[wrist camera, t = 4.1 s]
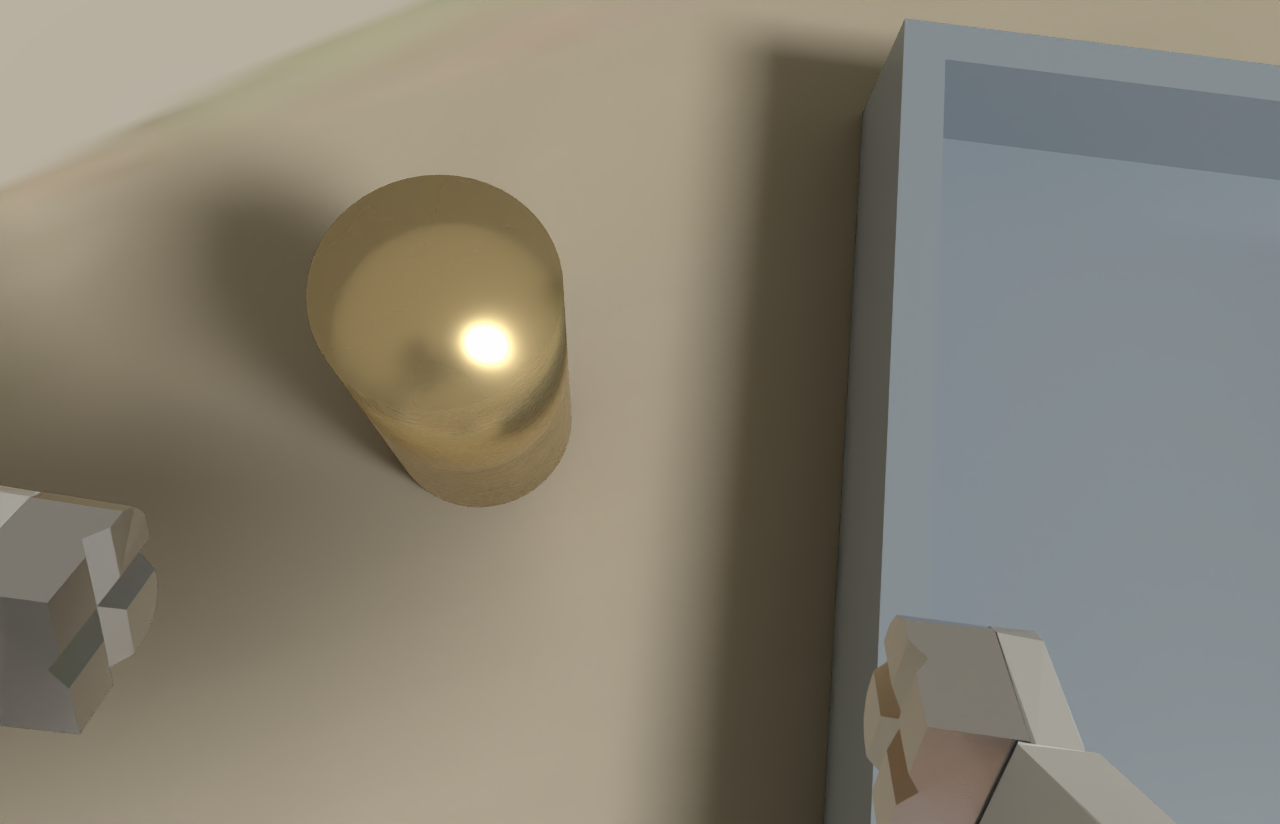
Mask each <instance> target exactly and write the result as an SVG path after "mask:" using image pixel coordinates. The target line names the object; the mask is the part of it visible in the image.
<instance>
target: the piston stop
mask: <svg viewBox="0 0 1280 824" xmlns="http://www.w3.org/2000/svg"><path fill="white" fill-rule="evenodd" d="M306 308H307V315H308V321H309V324H310V328H311V331H312V335H313V337H314V339H315V341H316V343H317V345H318V348H319V349H320V351H321V353H322V354H323V356H324V357H325V359H326V360H327V362H328V363H329V365H330V366H331V367H332V369H333V370H334V371H335V373H336V374H337V376H338V377H339V378H340V380H341V381H342V382H343V384H344V385H345V387H346V388H347V389H348V391H349V392H350V393H351V395H352V396H353V398H354V399H355V400H356V402H357V403H358V404H359V406H360V407H361V409H362V410H363V411H364V413H365V414H366V415H367V417H368V418H369V420H370V421H371V422H372V424H373V425H374V426H375V428H376V429H377V431H378V432H379V433H380V435H381V436H382V437H383V439H384V440H385V442H386V443H387V444H388V446H389V447H390V448H391V450H392V451H393V453H394V454H395V455H396V457H397V458H398V459H399V461H400V462H401V464H402V465H403V466H404V468H405V469H406V470H407V472H408V473H409V474H410V475H411V477H412V478H413V479H414V480H415V481H416V482H417V483H418V484H419V485H420V486H422V487H423V488H424V489H425V490H427V491H428V492H430V493H431V494H433V495H434V496H436V497H439V498H441V499H443V500H445V501H448V502H451V503H454V504H458V505H463V506H471V507H486V506H495V505H500V504H504V503H507V502H510V501H513V500H516V499H518V498H520V497H522V496H524V495H526V494H527V493H529V492H531V491H532V490H534V489H535V488H536V487H538V486H539V485H540V484H541V483H542V482H543V481H545V480H546V478H547V477H548V476H549V475H550V474H551V473H552V472H553V470H554V469H555V467H556V466H557V465H558V463H559V462H560V460H561V458H562V456H563V454H564V452H565V449H566V446H567V443H568V440H569V435H570V430H571V405H570V389H569V372H568V356H567V340H566V323H565V307H564V291H563V276H562V270H561V265H560V260H559V257H558V254H557V251H556V249H555V246H554V244H553V242H552V240H551V238H550V236H549V234H548V232H547V231H546V229H545V228H544V227H543V225H542V224H541V222H540V221H539V220H538V218H537V217H536V216H535V215H534V214H533V213H532V212H531V211H530V210H529V209H528V208H527V207H526V206H524V205H523V204H522V203H521V202H519V201H518V200H517V199H516V198H514V197H513V196H511V195H509V194H508V193H506V192H504V191H503V190H501V189H499V188H496V187H494V186H492V185H490V184H487V183H484V182H481V181H478V180H475V179H471V178H465V177H460V176H451V175H427V176H419V177H413V178H407V179H404V180H400V181H397V182H394V183H391V184H388V185H386V186H384V187H381V188H379V189H377V190H375V191H373V192H371V193H369V194H368V195H366V196H364V197H362V198H361V199H360V200H358V201H357V202H356V203H354V204H353V205H352V206H350V207H349V208H348V209H347V210H346V211H345V212H344V213H343V214H342V215H341V216H340V217H338V219H337V220H336V221H335V222H334V223H333V225H332V226H331V227H330V228H329V229H328V231H327V232H326V234H325V236H324V237H323V239H322V240H321V242H320V244H319V246H318V248H317V250H316V252H315V254H314V257H313V259H312V263H311V266H310V269H309V273H308V279H307V285H306Z"/></svg>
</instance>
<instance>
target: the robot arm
mask: <svg viewBox="0 0 1280 824" xmlns="http://www.w3.org/2000/svg"><path fill="white" fill-rule="evenodd" d="M149 537H150V536H149V532H148V527H147V522H146V518H145V513H144V512H142V511H141V510H139V509H137V508H136V507H134V506H128V505H122V504H116V503H110V502H103V501H97V500H91V499H85V498H79V497H73V496H67V495H61V494H55V493H49V492H44V493H42V492H37V491H31V490H25V489H19V488H13V487H7V486H1V485H0V726H8V727H17V728H26V729H35V730H44V731H53V732H62V733H71V734H80V733H81V732H82V730H83V729H84V728H85V726H86V725H87V723H88V722H89V720H90V719H91V717H92V716H93V714H94V713H95V711H96V710H97V708H98V707H99V706H100V704H101V703H102V701H103V700H104V698H105V697H106V695H107V694H108V692H109V691H110V689H111V688H112V686H113V682H112V677H111V672H110V667H111V666H113V665H115V664H117V663H119V662H121V661H122V660H124V659H126V658H128V657H130V656H132V655H133V654H135V652H136V651H137V649H138V648H139V646H140V644H141V643H142V641H143V640H144V638H145V637H146V635H147V634H148V631H149V628H150V625H151V622H152V619H153V616H154V613H155V610H156V604H157V590H158V586H157V579H156V572H155V569H154V567H153V566H152V565H151V564H150V563H149V562H148V561H147V560H146V559H145V558H144V557H143V556H142V555H141V554H140V552H139V551H140V550H141V548H142V547H143V545H144V544H145V543H146V541H147V540H148V539H149ZM884 645H885V651H886V657H887V662H886V663H884V664H883V665H881V666H880V667H878V668H877V669H875V670H874V671H873V674H872V677H871V681H870V684H869V687H868V691H867V695H866V703H865V710H864V742H865V749H866V757H867V758H868V759H869V760H870V762H871V763H872V764H873V765H874V766H875V767H876V768H877V770H878V771H879V773H878V776H877V778H876V781H875V784H874V787H873V789H872V798H873V805H874V811H875V818H876V824H1177V823H1176V822H1175V821H1173V820H1172V819H1171V818H1170V817H1169V816H1168V815H1167V814H1166V813H1165V812H1164V811H1162V810H1161V809H1160V808H1159V807H1158V806H1157V805H1156V804H1155V803H1154V802H1153V801H1151V800H1150V799H1149V798H1148V797H1147V796H1146V795H1145V794H1144V793H1143V792H1142V791H1140V790H1139V789H1138V788H1137V787H1136V786H1135V785H1134V784H1133V783H1132V782H1130V781H1129V780H1128V779H1127V778H1126V777H1125V776H1124V775H1123V774H1122V773H1121V772H1119V771H1118V770H1117V769H1116V768H1115V767H1114V766H1113V765H1112V764H1111V763H1110V762H1108V761H1107V760H1106V759H1105V758H1104V757H1103V756H1102V755H1101V754H1099V753H1092V752H1086V751H1085V748H1084V745H1083V743H1082V740H1081V737H1080V735H1079V732H1078V730H1077V727H1076V724H1075V722H1074V719H1073V717H1072V714H1071V711H1070V709H1069V706H1068V703H1067V701H1066V698H1065V696H1064V693H1063V690H1062V688H1061V685H1060V682H1059V680H1058V677H1057V675H1056V672H1055V669H1054V667H1053V664H1052V661H1051V659H1050V656H1049V654H1048V651H1047V648H1046V646H1045V643H1044V641H1043V638H1042V637H1041V636H1040V635H1038V634H1037V633H1036V632H1035V631H1026V630H1018V629H1010V628H1002V627H994V626H989V627H985V626H979V625H972V624H964V623H957V622H949V621H942V620H935V619H927V618H920V617H912V616H905V615H897V614H896V616H895V617H894V619H893V620H892V621H891V623H890V625H889V628H888V630H887V633H886V636H885V639H884Z"/></svg>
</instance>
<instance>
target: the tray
mask: <svg viewBox="0 0 1280 824" xmlns="http://www.w3.org/2000/svg"><path fill="white" fill-rule="evenodd" d="M896 614H897V615H905V616H912V617H920V618H927V619H935V620H942V621H949V622H957V623H964V624H972V625H979V626H985V627H989V626H994V627H1002V628H1010V629H1018V630H1026V631H1035V632H1036V633H1037V634H1038V635H1040V636H1041V637H1042V638H1043V641H1044V643H1045V646H1046V648H1047V651H1048V654H1049V656H1050V659H1051V661H1052V664H1053V667H1054V669H1055V672H1056V675H1057V677H1058V680H1059V682H1060V685H1061V688H1062V690H1063V693H1064V696H1065V698H1066V701H1067V703H1068V706H1069V709H1070V711H1071V714H1072V717H1073V719H1074V722H1075V724H1076V727H1077V730H1078V732H1079V735H1080V737H1081V740H1082V743H1083V745H1084V748H1085V751H1086V752H1092V753H1099V754H1101V755H1102V756H1103V757H1104V758H1105V759H1106V760H1107V761H1108V762H1110V763H1111V764H1112V765H1113V766H1114V767H1115V768H1116V769H1117V770H1118V771H1119V772H1121V773H1122V774H1123V775H1124V776H1125V777H1126V778H1127V779H1128V780H1129V781H1130V782H1132V783H1133V784H1134V785H1135V786H1136V787H1137V788H1138V789H1139V790H1140V791H1142V792H1143V793H1144V794H1145V795H1146V796H1147V797H1148V798H1149V799H1150V800H1151V801H1153V802H1154V803H1155V804H1156V805H1157V806H1158V807H1159V808H1160V809H1161V810H1162V811H1164V812H1165V813H1166V814H1167V815H1168V816H1169V817H1170V818H1171V819H1172V820H1173V821H1175V822H1176V823H1177V824H1280V66H1278V65H1270V64H1262V63H1254V62H1246V61H1238V60H1230V59H1222V58H1214V57H1206V56H1198V55H1190V54H1183V53H1175V52H1167V51H1159V50H1151V49H1143V48H1135V47H1127V46H1119V45H1111V44H1103V43H1095V42H1087V41H1079V40H1071V39H1063V38H1055V37H1048V36H1040V35H1032V34H1024V33H1016V32H1008V31H1000V30H992V29H984V28H976V27H968V26H960V25H952V24H944V23H936V22H928V21H920V20H912V19H905V20H904V22H903V24H902V26H901V29H900V31H899V33H898V35H897V38H896V40H895V42H894V44H893V47H892V49H891V51H890V53H889V56H888V58H887V60H886V62H885V64H884V67H883V69H882V71H881V73H880V76H879V78H878V80H877V82H876V85H875V87H874V89H873V91H872V94H871V96H870V98H869V100H868V103H867V105H866V107H865V109H864V111H863V115H862V133H861V151H860V169H859V187H858V206H857V224H856V242H855V260H854V278H853V296H852V314H851V332H850V350H849V368H848V387H847V405H846V423H845V441H844V459H843V477H842V495H841V513H840V531H839V550H838V568H837V586H836V604H835V622H834V640H833V658H832V676H831V694H830V712H829V731H828V749H827V767H826V785H825V803H824V821H823V824H876V818H875V811H874V805H873V798H872V789H873V787H874V784H875V781H876V778H877V776H878V773H879V771H878V770H877V768H876V767H875V766H874V765H873V764H872V763H871V762H870V760H869V759H868V758H867V757H866V749H865V742H864V710H865V703H866V695H867V691H868V687H869V684H870V681H871V677H872V674H873V671H874V670H875V669H877V668H878V667H880V666H881V665H883V664H884V663H886V662H887V657H886V651H885V645H884V639H885V636H886V633H887V630H888V628H889V625H890V623H891V621H892V620H893V619H894V617H895V616H896Z"/></svg>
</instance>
